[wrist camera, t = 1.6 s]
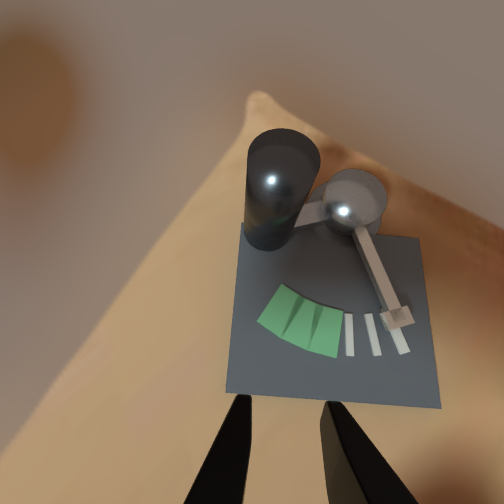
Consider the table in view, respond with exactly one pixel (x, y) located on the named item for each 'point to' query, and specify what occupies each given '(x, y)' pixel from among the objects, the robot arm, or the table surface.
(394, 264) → the gauge board
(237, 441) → the robot arm
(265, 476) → the table surface
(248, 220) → the dial
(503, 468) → the table surface
